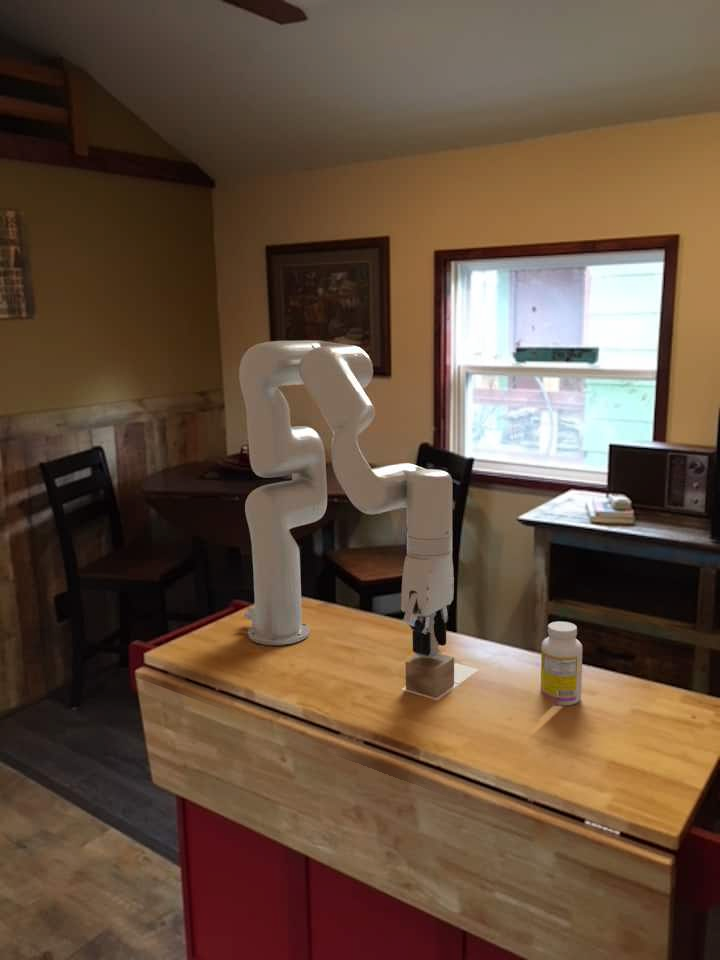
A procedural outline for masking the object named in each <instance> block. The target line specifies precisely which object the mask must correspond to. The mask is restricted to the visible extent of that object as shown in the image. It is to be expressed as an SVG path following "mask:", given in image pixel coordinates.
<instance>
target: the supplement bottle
mask: <svg viewBox="0 0 720 960" xmlns="http://www.w3.org/2000/svg"><path fill="white" fill-rule="evenodd" d="M547 633H548V636H547V637H545V638H544V639H543V640H542V643H541V653H540V654H541V658H540V660H541V663H540V665H541V666H540V667H541V669H540V692H541V693H542V695H544V696H546V697H548V698H549V699H553V700H557V701H556V702H555V703H554V705H556V706H561V707H563V706H564V707H565V706H573V705H575V704H577V703H579V702H580V700H581V698H582V683H583V682H582V679H583V677H582V676H583V675H582V673H583V669H582V668H583V644H582V643H581V641H580V640H578V639H577V635H578V627H577V625H576V624H575V623H573V622H569V621H552V622H550V623H549V624H548V625H547Z"/></svg>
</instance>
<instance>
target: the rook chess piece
mask: <svg viewBox="0 0 720 960" xmlns="http://www.w3.org/2000/svg"><path fill="white" fill-rule="evenodd" d="M418 612H421V610H419V609H418ZM435 615H436V612H434V613H433V614H431V615H430V619H429V628H428V632H431V653H430V655H428V656H426V655H422V654H419V653H415V652H414V654H415V655H418V656H421V657H432V656H435V655H437V653H438V654H439V652H440V649H439V646H440V645H439V644H438V642H437V641H436V638H435V635H434V623H435V621H434V616H435ZM419 620H420V621H421V622H422V624H423V618H421V617H419Z"/></svg>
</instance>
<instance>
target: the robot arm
mask: <svg viewBox="0 0 720 960" xmlns="http://www.w3.org/2000/svg"><path fill="white" fill-rule="evenodd" d="M239 364H240V365H239V369H238V375H239V376H238V379H239V385H240V390H241V392H242V397H243V399H244V405H245V409H246V410H245V411H246V412H245V413H246V427H247V429H246V430H247V440H248V442H247V443H248V455H249V462H250V467H251V470H252V472H253V473H254V474H255V475H256V476H258V477H261V478H268V479H269V478H277V477H278V478H279V477H284V476H288V475H289V476H290V475H291V480H285V481H279V482H273V483H269V484H268V483H267V484H264V485H261V486H259V487H257V488H255V489H254V490H252V491H251V492H250V493H249V494H248V496H247V498H246V500H245V502H244V503H245V504H244V509H245V510H244V512H245V517H246V521H247V525H248V529H249V530H248V531H249V534H250V535H249V536H250V541H251V554H252V555H251V556H252V569H253V573H252V574H253V592H254V594H253V596H254V606H249V607H248V608H247V611H245V613H244V614H243V618H244V620H249V621H251V627H250V628H249V629H248V632H247V633H248V638H249V639H250V640H251V641H252V642H254V643H256V644H259V643H260V645H264V646H286V644H287V645H290V644H291V645H292V644H296V643H299V642H301V641H302V640H304V639H306V638H307V637H308V636H309V635H310V633H311V632H310V631H311V630H310V629H311V628H310V626H309V624H308V623H307V622H305V621H303V618H302V617H303V614H302V584H301V583H302V582H301V556H300V555H301V554H300V548H299V546H298V544H297V542H296V540H295V538H294V537H293V536H292V534H291V531H290V530H291V529H294V528H296V527H297V528H298V527H300V526H305V525H309V524H312V523H315V522H317V521H319V520H321V519H322V518H323V517H324V515H325V513H326V510H327V506H328V487H327V469H326V467H327V465H326V453H325V452H326V451H325V447H324V443H323V441H322V439H321V437H320V435H319V434H318V432H317V431H315V430H314V429H313V428H312V427H310V426H306V425H297V426H292V423H291V411H290V410H291V409H290V406H289V405H290V404H289V402H288V401H287V399H286V397H285V396H284V393H282V391H281V390H280V389H279V387H283V386H300V385H304V386H305V388H306V390H307V391H308V393H309V395H310V397H311V398H312V399H313V402H314V403H315V404H316V406H317V408H318V409H319V411H320V413H321V415H322V416H323V418H324V419H325V421H326V423H327V424H328V426H329V428H330V429H331V431H332V433H333V434H332V441H331V447H330V448H331V450H330V452H331V453H330V454H331V463H332V469H333V472H334V475H335V477H336V480H337V481H338V483H339V485H340V486H341V489H342V490H343V491H344V493H345V495H346V497H347V498H348V499H349V501H350V502H351V504H352V505H353V506H354V507H355V508H356V509H357V510H359V511H360V512H362V513H363V514H367V515H376V514H377V515H378V514H383V513H386V512H390V511H393V510H398V509H403V508H406V555H405V558H404V563H403V570H402V579H401V580H402V581H401V599H400V600H401V603H400V604H401V605H400V606H401V611H402V612H403V613H404V616H403V622H404V623H406V624H407V625H408V626H409V627H410V631H412V652H413V653H414V654H415V653H419V654H422V655H426V656H428V655H430V653H431V632H428V628H429V619H430V615H431V614H433V613H434V612H436V615H435V616H434V621H435V623H434V635H435V638H436V641H437V642H438V644H439V646H442V647H443V646H445V645H447V622H448V620H449V615H448V613H449V610H450V607H451V606H450V605H451V604H452V602H453V600H454V593H455V591H454V590H455V589H454V588H455V585H454V583H455V581H454V580H455V577H454V576H455V575H454V563H453V478H452V475H451V474H450V473H449V472H447V471H445V470H443V469H429V468H428V469H427V468H424V467H422V466H418V465H416V464H415V463H414V464H413V463H409V462H402V463H401V462H400V463H395V464H388V465H383V466H378V467H374V468H371V466H370V464H369V463H368V461H367V460H366V458H365V456H364V455H363V453H362V451H361V449H360V445H359V440H358V437H359V435H360V434H361V433H362V432H363V431H364V430H365V429H366V428H368V427H369V426H370V425H371V423H373V420H374V419H375V415H376V408H375V406H374V404H373V403H372V401H371V399H369V397H368V395H367V394H366V392H365V391H364V389H365V388H366V387H368V386H369V384H370V383H371V381H372V380H373V375H374V368H373V366H374V365H373V362H372V360H371V358H370V356H369V355H368V353H366V351H365V350H363V349H362V348H361V347H360V346H357V345H352V344H346V343H345V344H344V343H336V342H331V341H325V340H324V341H323V340H315V339H314V340H306V339H305V340H274V341H265V342H261V343H257V344H255V345H253V346H251V347H250V348H248V349H247V351H245V352H244V354H243V356H242V358H241V361H240V363H239ZM419 610H421V612H418V611H419ZM420 617H421V618H423V624H422V622H421V621H420V619H419V618H420Z"/></svg>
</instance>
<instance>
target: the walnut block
mask: <svg viewBox="0 0 720 960" xmlns="http://www.w3.org/2000/svg"><path fill="white" fill-rule="evenodd" d="M454 663H455V657H453V656H450V655H446V654H442V653H439V652H438V653H437V655H435V656H432V657H421V656H418V655H417V654H415V655H414V656H412V657H411V658H409V659H406V660H405V686H406V689H407V690H411V691H414V692H418V693H421V694H424V695H428V696H431V697H435V698H437V697H438V696H439V695H441V694H442V693H444V692H445V691H446V690H448V689H449V688H450V687H452V686H453V685H454Z"/></svg>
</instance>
